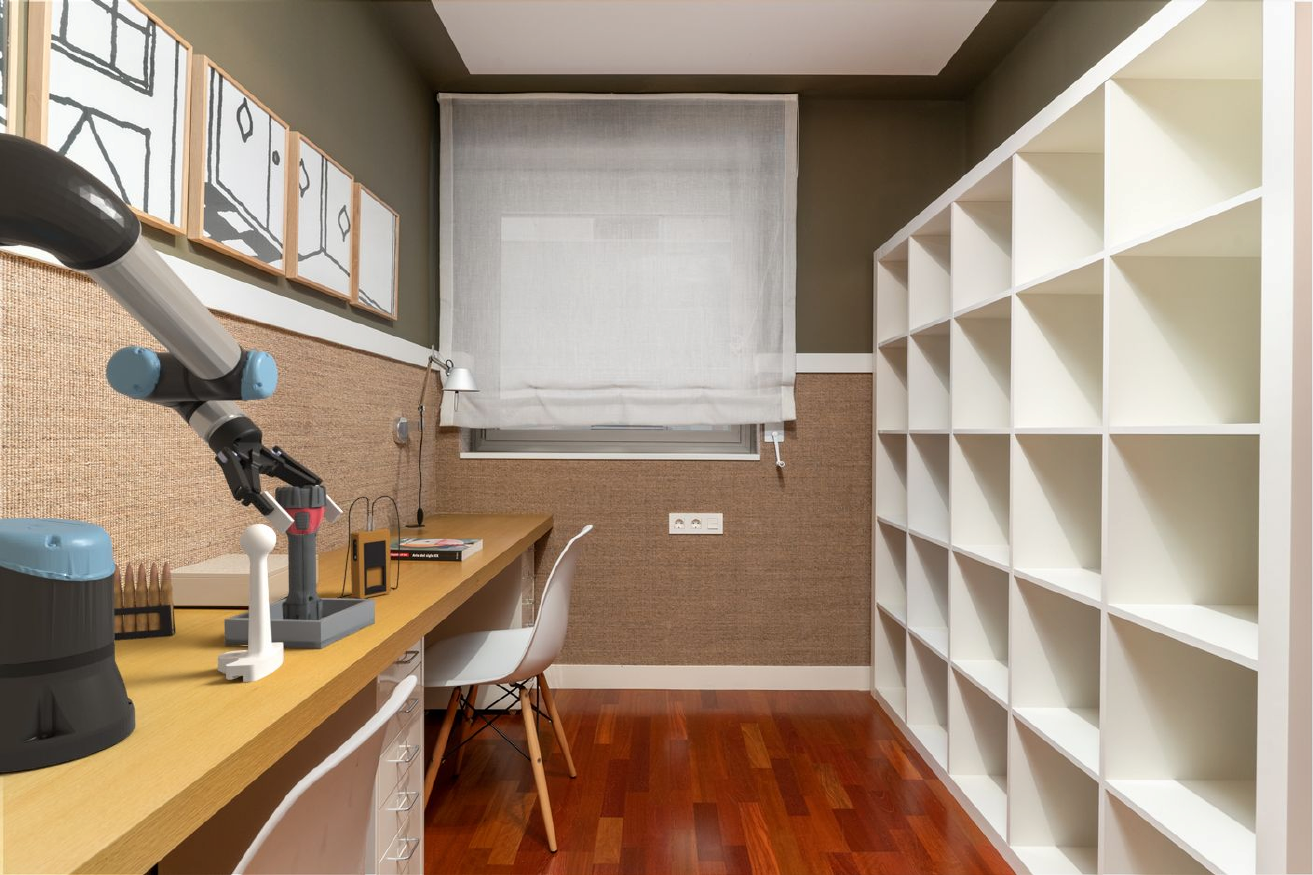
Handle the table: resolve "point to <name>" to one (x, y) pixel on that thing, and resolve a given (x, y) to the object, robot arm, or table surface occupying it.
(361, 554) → the multimeter
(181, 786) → the table surface
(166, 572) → the ammunition clip
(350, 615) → the tray
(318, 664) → the table surface
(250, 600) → the joystick
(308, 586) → the flashlight
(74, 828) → the table surface
